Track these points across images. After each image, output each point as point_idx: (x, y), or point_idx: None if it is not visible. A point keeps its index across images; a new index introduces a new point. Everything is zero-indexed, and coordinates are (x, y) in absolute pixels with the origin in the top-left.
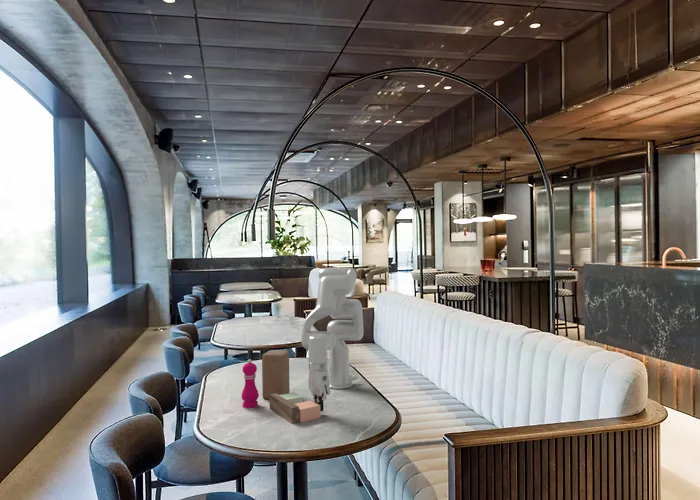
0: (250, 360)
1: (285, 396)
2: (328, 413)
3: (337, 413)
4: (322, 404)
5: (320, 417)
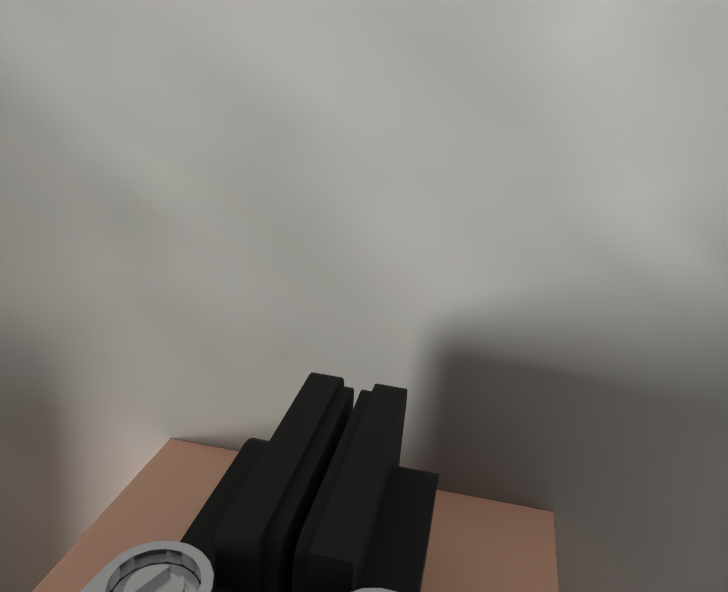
0: None
1: None
2: (439, 219)
3: (608, 40)
4: (423, 562)
5: (551, 515)
